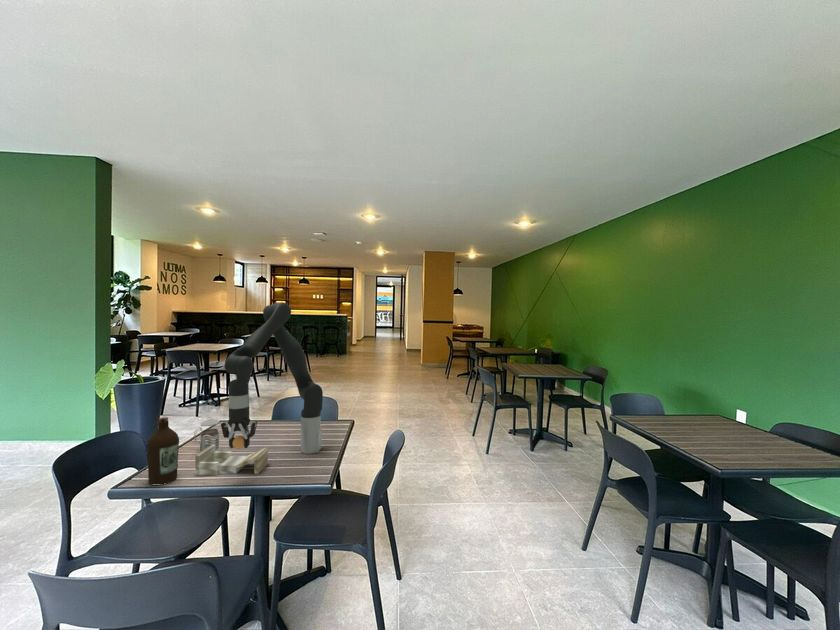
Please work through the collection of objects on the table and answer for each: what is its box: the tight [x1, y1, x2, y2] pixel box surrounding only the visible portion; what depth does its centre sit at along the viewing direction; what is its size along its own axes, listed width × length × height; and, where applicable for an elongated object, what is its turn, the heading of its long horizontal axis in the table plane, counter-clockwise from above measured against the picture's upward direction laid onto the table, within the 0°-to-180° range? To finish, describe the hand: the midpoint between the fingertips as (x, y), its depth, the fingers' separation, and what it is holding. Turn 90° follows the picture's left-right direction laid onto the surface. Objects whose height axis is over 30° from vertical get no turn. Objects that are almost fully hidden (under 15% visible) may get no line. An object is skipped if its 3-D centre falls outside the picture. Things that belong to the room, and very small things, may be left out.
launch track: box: [194, 444, 269, 476], centre depth 158 cm, size 26×12×8 cm, turn 91°
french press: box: [193, 399, 222, 455], centre depth 176 cm, size 10×12×25 cm
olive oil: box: [146, 416, 180, 485], centre depth 146 cm, size 11×11×25 cm
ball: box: [232, 435, 245, 450], centre depth 146 cm, size 5×5×5 cm
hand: (239, 447), depth 146 cm, fingers closed on ball, 5 cm apart
